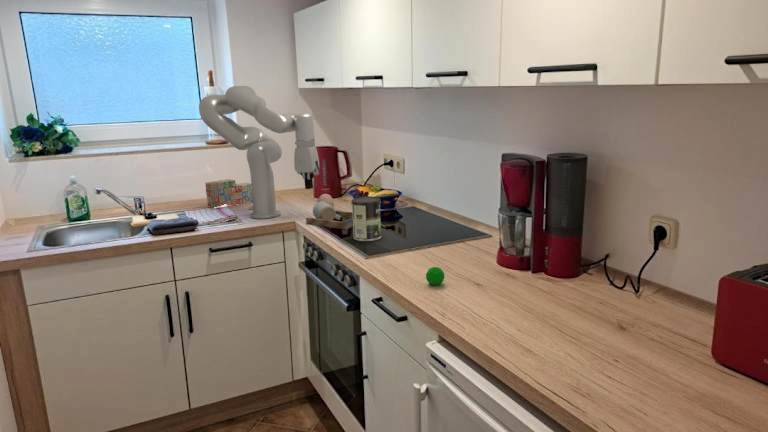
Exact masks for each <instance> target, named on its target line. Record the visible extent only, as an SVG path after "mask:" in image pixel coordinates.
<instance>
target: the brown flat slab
mask: <svg viewBox="0 0 768 432" xmlns="http://www.w3.org/2000/svg"><path fill="white" fill-rule="evenodd" d="M335 212H336V214H338V215H340V216H341V218H343V219H347V220H344V221H340V220H333V221H332V220H325V219H317V218H315V217H308V216H307V217H305V224H307V225H311V226H318V227H325V228H332V229H341V230H349V229H351V228H353V214H352V211H345V210H338V209H337V210H336V209H335Z"/></svg>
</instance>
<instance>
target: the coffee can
mask: <svg viewBox="0 0 768 432" xmlns="http://www.w3.org/2000/svg"><path fill="white" fill-rule="evenodd" d="M380 201H381V198H379V197H376V196H363V197H361V196H360V197H356V198H353V199H351V209H352V211H351V212H352V214H353V227H352V228H353V230H352V231H353V233H352V234H353V237H352V239H354V240H355V241H359V242H372V241H377V240H380V239H381V238H382V222H381V219H382V217H381V204H380Z"/></svg>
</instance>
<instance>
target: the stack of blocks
mask: <svg viewBox="0 0 768 432" xmlns="http://www.w3.org/2000/svg"><path fill="white" fill-rule="evenodd" d="M205 192H206V200H207V208H208V209H211V208H214V207H217V206H221V205H224V204H227V205H235V206H237V205H236V204H241V203H246V204H248V203H247V202H251V203H253V196H252V184H251V182H241V183H236V180H235V179H230V178H225V179H220V180H214V181H209V182H205ZM241 205H242V204H241Z"/></svg>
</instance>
